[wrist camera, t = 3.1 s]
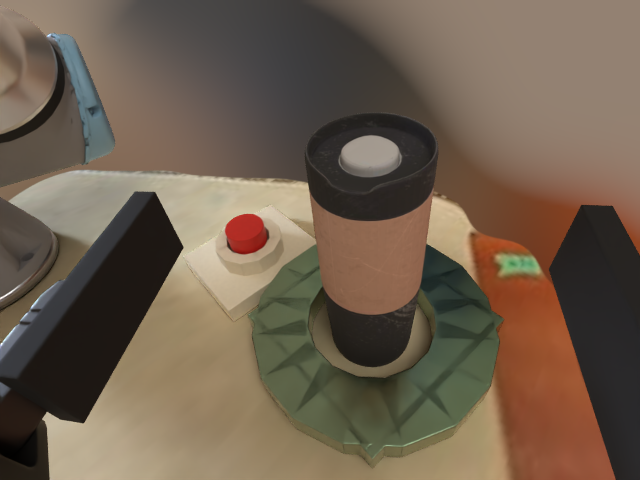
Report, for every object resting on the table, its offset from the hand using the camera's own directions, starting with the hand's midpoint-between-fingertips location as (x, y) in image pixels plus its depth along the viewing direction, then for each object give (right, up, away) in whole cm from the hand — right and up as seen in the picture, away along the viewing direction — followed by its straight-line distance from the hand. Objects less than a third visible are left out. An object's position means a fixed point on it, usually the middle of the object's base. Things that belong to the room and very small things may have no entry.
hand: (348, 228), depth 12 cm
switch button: (-8, 0, +28) cm, 29 cm away
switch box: (-8, -3, +30) cm, 32 cm away
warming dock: (+4, -9, +23) cm, 25 cm away
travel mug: (+4, -9, +23) cm, 25 cm away
